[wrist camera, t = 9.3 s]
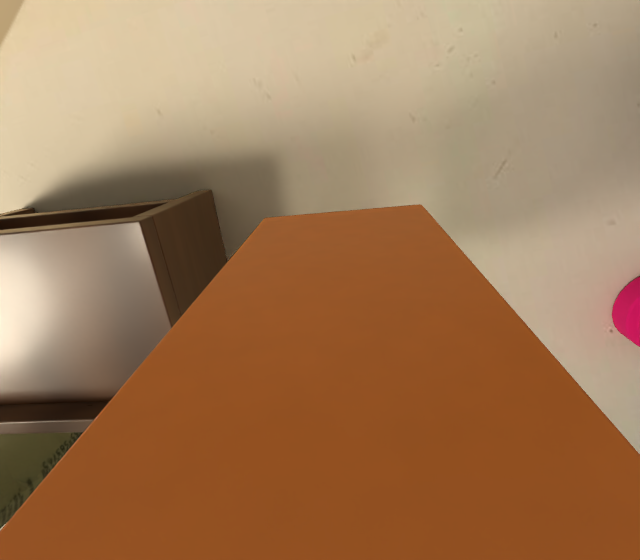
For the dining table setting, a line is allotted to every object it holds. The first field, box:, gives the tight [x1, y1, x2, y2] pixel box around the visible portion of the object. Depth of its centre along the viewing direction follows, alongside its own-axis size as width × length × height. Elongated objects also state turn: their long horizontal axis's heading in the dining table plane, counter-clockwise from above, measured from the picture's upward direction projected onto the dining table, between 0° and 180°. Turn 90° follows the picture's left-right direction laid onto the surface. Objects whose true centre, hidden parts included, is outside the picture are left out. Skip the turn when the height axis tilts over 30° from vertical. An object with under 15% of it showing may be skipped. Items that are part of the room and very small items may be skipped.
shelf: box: [0, 190, 227, 434], centre depth 25 cm, size 16×12×12 cm
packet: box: [0, 205, 640, 560], centre depth 9 cm, size 5×9×10 cm, turn 6°
